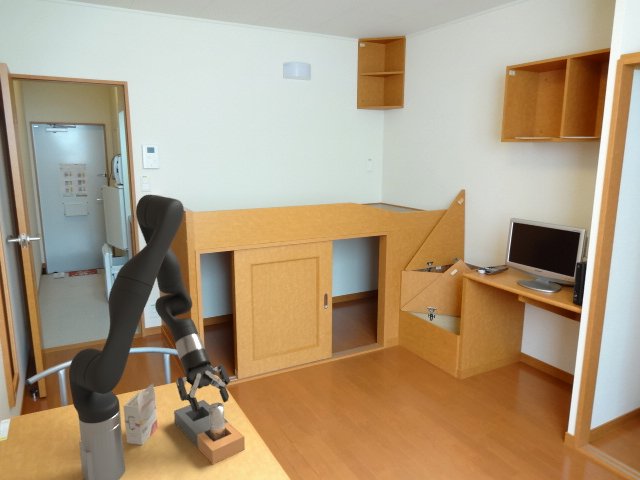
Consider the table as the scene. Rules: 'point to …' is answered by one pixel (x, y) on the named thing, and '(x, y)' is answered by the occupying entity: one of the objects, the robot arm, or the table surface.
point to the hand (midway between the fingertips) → (212, 406)
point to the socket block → (208, 433)
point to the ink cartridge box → (140, 416)
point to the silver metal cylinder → (216, 421)
